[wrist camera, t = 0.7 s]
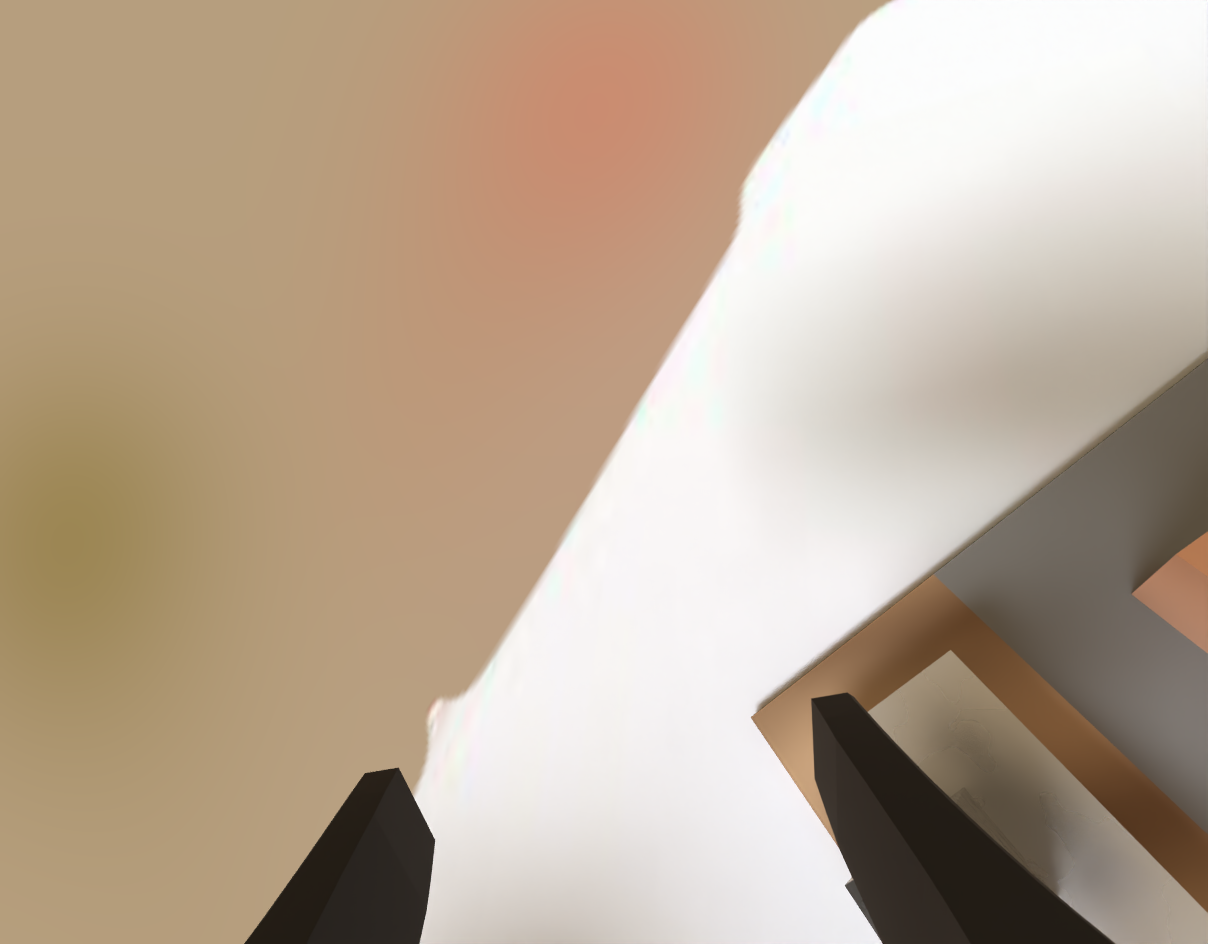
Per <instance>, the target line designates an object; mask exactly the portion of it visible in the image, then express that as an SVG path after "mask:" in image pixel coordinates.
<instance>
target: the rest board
mask: <svg viewBox="0 0 1208 944" xmlns="http://www.w3.org/2000/svg"><path fill="white" fill-rule="evenodd" d="M950 650H951V651H952V652H953V653H954V654H955V655H956V656H957V657H958V658H959V659H960V660H961V661H962V662H963V663H964V664H965V665H966V666H967V667H968V668H969V669H970V670H971V671H972V672H973V673H974V674H975V675H976V676H977V677H978V678H979V680H980V681H981V682H982V683H983V684H984V685H985V686H986V687H987V688H988V689H989V690H990V691H991V692H992V693H993V694H994V695H995V696H996V697H997V698H998V699H999V700H1000V701H1001V702H1002V703H1003V704H1004V705H1005V706H1006V707H1007V708H1008V709H1009V710H1010V711H1011V712H1012V713H1013V714H1014V715H1015V716H1016V717H1017V718H1018V719H1019V720H1020V721H1021V722H1022V724H1023V725H1024V726H1025V727H1026V728H1027V729H1028V730H1029V731H1030V732H1031V733H1032V734H1033V735H1034V736H1035V737H1036V738H1037V739H1038V740H1039V741H1040V742H1041V743H1042V744H1043V745H1044V746H1045V747H1046V748H1047V749H1048V750H1049V751H1050V752H1051V753H1052V754H1053V755H1054V756H1055V757H1056V758H1057V759H1058V760H1059V761H1060V762H1061V763H1062V764H1063V765H1064V766H1065V768H1066V769H1067V770H1068V771H1069V772H1070V773H1071V774H1072V775H1073V776H1074V777H1075V778H1076V779H1077V780H1078V781H1079V782H1080V783H1081V784H1082V785H1083V786H1084V787H1085V788H1086V789H1087V790H1088V791H1089V792H1090V793H1091V794H1092V795H1093V796H1094V797H1095V798H1096V799H1097V800H1098V801H1099V802H1100V803H1101V804H1102V805H1103V806H1104V807H1105V808H1106V809H1107V810H1108V812H1109V813H1110V814H1111V815H1112V816H1113V817H1114V818H1115V819H1116V820H1117V821H1118V822H1119V823H1120V824H1121V825H1122V826H1123V827H1124V828H1125V829H1126V830H1127V831H1128V832H1129V833H1130V834H1131V835H1132V836H1133V837H1134V838H1135V839H1136V840H1137V841H1138V842H1139V843H1140V844H1141V845H1142V846H1143V847H1144V848H1145V849H1146V850H1147V851H1148V852H1149V853H1150V854H1151V856H1152V857H1153V858H1154V859H1155V860H1156V861H1157V862H1158V863H1159V864H1160V865H1161V866H1162V867H1163V868H1164V869H1165V870H1166V871H1167V872H1168V873H1169V874H1170V875H1171V876H1172V877H1173V878H1174V879H1175V880H1176V881H1177V882H1178V883H1179V884H1180V885H1181V886H1182V887H1183V888H1184V889H1185V890H1186V891H1187V892H1188V893H1189V894H1190V895H1191V896H1192V897H1193V898H1194V900H1195V901H1196V902H1197V903H1198V904H1199V905H1200V906H1201V907H1202V908H1203V909H1204V910H1205V911H1206V912H1207V913H1208V834H1207V833H1206V832H1205V831H1204V830H1202V829H1201V828H1200V827H1199V826H1198V825H1197V824H1196V823H1195V822H1194V821H1193V820H1192V819H1191V818H1190V817H1189V816H1188V815H1187V814H1186V813H1185V812H1184V811H1182V810H1181V809H1180V808H1179V807H1178V806H1177V805H1176V804H1175V803H1174V802H1173V801H1172V800H1171V799H1170V798H1169V797H1168V796H1167V795H1166V794H1165V793H1163V792H1162V791H1161V790H1160V789H1159V788H1158V787H1157V786H1156V785H1155V784H1154V783H1153V782H1152V781H1151V780H1150V779H1149V778H1148V777H1147V776H1146V775H1145V774H1143V773H1142V772H1141V771H1140V770H1139V769H1138V768H1137V767H1136V766H1135V765H1134V764H1133V763H1132V762H1131V761H1130V760H1129V759H1128V758H1127V757H1126V756H1124V755H1123V754H1122V753H1121V752H1120V751H1119V750H1118V749H1117V748H1116V747H1115V746H1114V745H1113V744H1112V743H1111V742H1110V741H1109V740H1108V739H1107V738H1106V737H1104V736H1103V735H1102V734H1101V733H1100V732H1099V731H1098V730H1097V729H1096V728H1095V727H1094V726H1093V725H1092V724H1091V723H1090V722H1089V721H1088V720H1087V719H1085V718H1084V717H1083V716H1082V715H1081V714H1080V713H1079V712H1078V711H1077V710H1076V709H1075V708H1074V707H1073V706H1072V705H1071V704H1070V703H1069V702H1068V701H1066V700H1065V699H1064V698H1063V697H1062V696H1061V695H1060V694H1059V693H1058V692H1057V691H1056V690H1055V689H1054V688H1053V687H1052V686H1051V685H1050V684H1049V683H1048V682H1046V681H1045V680H1044V679H1043V678H1042V677H1041V676H1040V675H1039V674H1038V673H1037V672H1036V671H1035V670H1034V669H1033V668H1032V667H1031V666H1030V665H1029V664H1027V663H1026V662H1025V661H1024V660H1023V659H1022V658H1021V657H1020V656H1019V655H1018V654H1017V653H1016V652H1015V651H1014V650H1013V649H1012V648H1011V647H1010V646H1009V645H1007V644H1006V643H1005V642H1004V641H1003V640H1002V639H1001V638H1000V637H999V636H998V635H997V634H996V633H995V632H994V631H993V630H992V629H991V628H990V627H988V626H987V625H986V624H985V623H984V622H983V621H982V620H981V619H980V618H979V617H978V616H977V615H976V614H975V613H974V612H973V611H972V610H971V609H969V608H968V607H967V606H966V605H965V604H964V603H963V602H962V601H961V600H960V599H959V598H958V597H957V596H956V595H955V594H954V593H953V592H952V591H951V590H949V589H948V588H947V587H946V586H945V585H944V584H943V583H942V582H941V581H940V580H939V579H938V578H937V577H936V576H935V575H934V574H933V575H932V576H930V577H929V578H928V579H926V580H925V581H924V582H923V583H921V584H920V585H919V586H918V587H916V588H915V589H914V590H912V591H911V592H910V593H909V594H907V595H906V596H905V597H904V598H902V599H901V600H900V601H898V602H897V603H896V604H895V605H893V606H892V607H891V608H890V609H888V610H887V611H886V612H884V613H883V614H882V615H881V616H879V617H878V618H877V619H875V620H874V621H873V622H872V623H870V624H869V625H868V626H867V627H865V628H864V629H863V630H861V631H860V632H859V633H858V634H856V635H855V636H854V637H853V638H851V639H850V640H849V641H847V642H846V643H845V644H844V645H842V646H841V647H840V648H839V649H837V650H836V651H835V652H833V653H832V654H831V655H830V656H828V657H827V658H826V659H825V660H823V661H822V662H821V663H819V664H818V665H817V666H816V667H814V668H813V669H812V670H811V671H809V672H808V673H807V674H805V675H804V676H803V677H802V678H800V679H799V680H798V681H797V682H795V683H794V684H793V685H791V686H790V687H789V688H788V689H786V690H785V691H784V692H782V693H781V694H780V695H779V696H777V697H776V698H775V699H774V700H772V701H771V702H770V703H768V704H767V705H766V706H765V707H763V708H762V709H761V710H760V711H758V712H757V713H756V714H754V715H753V716H752V717H751V718H752V720H753V721H754V723H755V724H756V726H757V727H758V729H759V730H760V732H761V733H762V735H763V736H764V738H765V739H766V741H767V742H768V744H769V745H770V747H771V748H772V750H773V751H774V752H775V754H776V755H777V757H778V758H779V760H780V761H781V763H782V764H783V766H784V767H785V769H786V770H787V772H788V773H789V775H790V776H791V778H792V779H793V781H794V782H795V784H796V785H797V787H798V788H799V790H800V791H801V792H802V794H803V795H804V797H805V798H806V800H807V801H808V803H809V804H810V806H811V807H812V809H813V810H814V812H815V813H816V815H817V816H818V818H819V819H820V821H821V822H822V824H823V825H824V827H825V828H826V829H827V831H828V832H829V834H830V835H831V837H832V838H833V840H834V841H835V843H836V844H837V842H836V839H835V836H834V833H833V830H832V828H831V825H830V822H829V819H828V816H827V814H826V811H825V808H824V805H823V802H822V799H821V796H820V793H819V790H818V787H817V784H816V782H815V778H814V754H813V730H812V707H811V698H817V697H823V696H829V695H835V694H841V693H847V692H848V693H849V694H851V695H852V696H854V697H855V698H856V700H857V701H858V702H859V703H860V704H861V705H862V707H863V708H864V709H865V710H866V711H867V712H868V711H869V710H871V709H872V708H873V707H875V706H876V705H877V704H879V703H880V702H881V701H883V700H884V699H886V698H887V697H888V696H890V695H891V694H892V693H894V692H895V691H896V690H898V689H899V688H900V687H902V686H903V685H904V684H906V683H907V682H908V681H910V680H911V679H912V678H914V677H915V676H916V675H918V674H919V673H920V672H922V671H923V670H924V669H926V668H927V667H928V666H930V665H931V664H932V663H934V662H935V661H936V660H938V659H939V658H940V657H942V656H943V655H944V654H946V653H947V652H948V651H950ZM837 846H838V844H837Z"/></svg>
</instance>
